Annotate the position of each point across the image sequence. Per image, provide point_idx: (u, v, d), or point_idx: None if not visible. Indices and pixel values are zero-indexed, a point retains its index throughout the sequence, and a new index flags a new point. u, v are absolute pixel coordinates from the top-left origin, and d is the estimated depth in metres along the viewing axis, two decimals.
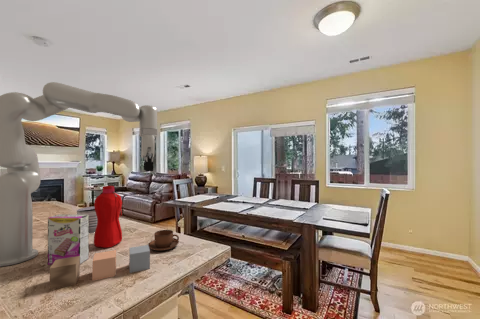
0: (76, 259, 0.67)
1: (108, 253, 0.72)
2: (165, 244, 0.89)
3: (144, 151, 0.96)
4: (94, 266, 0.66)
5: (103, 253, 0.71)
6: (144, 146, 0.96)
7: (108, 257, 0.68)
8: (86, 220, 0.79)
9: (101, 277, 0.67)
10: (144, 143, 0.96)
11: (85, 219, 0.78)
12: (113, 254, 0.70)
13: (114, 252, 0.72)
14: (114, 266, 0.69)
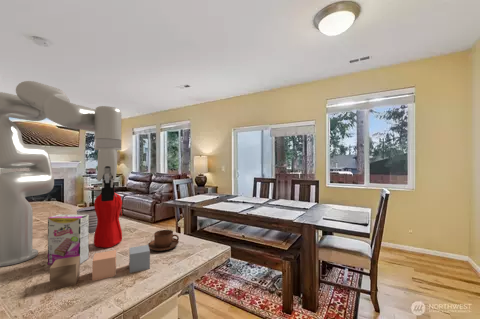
0: (76, 259, 0.67)
1: (108, 253, 0.71)
2: (165, 244, 0.88)
3: (99, 172, 0.66)
4: (94, 266, 0.66)
5: (103, 253, 0.71)
6: (99, 165, 0.66)
7: (108, 257, 0.68)
8: (86, 220, 0.79)
9: (101, 277, 0.67)
10: (99, 161, 0.66)
11: (85, 219, 0.78)
12: (113, 254, 0.70)
13: (114, 252, 0.72)
14: (114, 266, 0.69)
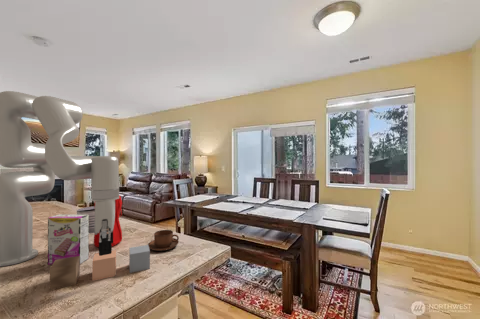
0: (76, 259, 0.67)
1: None
2: (165, 244, 0.88)
3: (96, 226, 0.65)
4: (94, 266, 0.66)
5: None
6: (96, 219, 0.65)
7: (108, 257, 0.68)
8: (86, 220, 0.79)
9: (101, 277, 0.67)
10: (96, 214, 0.65)
11: (85, 219, 0.78)
12: (113, 254, 0.70)
13: (114, 252, 0.72)
14: (114, 266, 0.69)
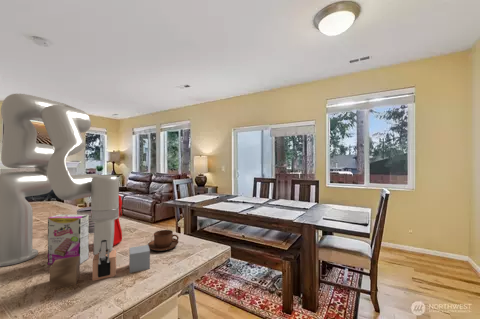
0: (76, 259, 0.67)
1: None
2: (165, 244, 0.88)
3: (95, 247, 0.65)
4: (94, 266, 0.66)
5: None
6: (95, 240, 0.65)
7: None
8: (86, 220, 0.79)
9: (101, 277, 0.67)
10: (96, 235, 0.65)
11: (85, 219, 0.78)
12: (113, 254, 0.70)
13: (114, 252, 0.72)
14: (114, 266, 0.69)
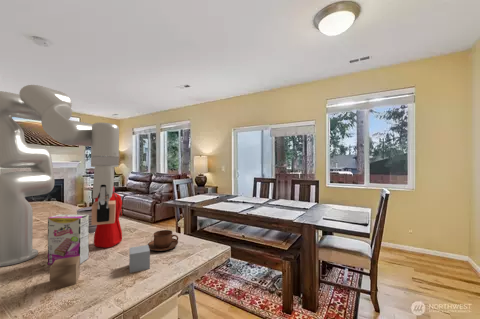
0: (76, 259, 0.67)
1: None
2: (164, 244, 0.88)
3: (95, 191, 0.65)
4: (93, 211, 0.66)
5: None
6: (95, 183, 0.65)
7: None
8: (86, 220, 0.79)
9: (100, 222, 0.67)
10: (95, 179, 0.65)
11: (85, 219, 0.78)
12: (113, 202, 0.70)
13: (113, 201, 0.72)
14: (113, 213, 0.69)
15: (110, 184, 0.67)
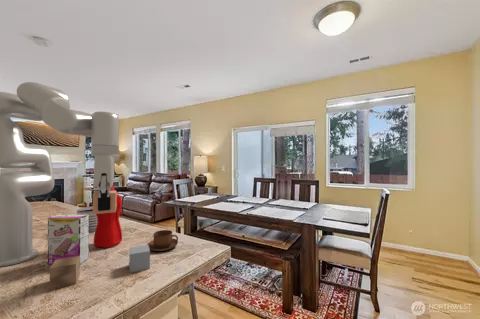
0: (76, 259, 0.67)
1: None
2: (164, 244, 0.88)
3: (96, 179, 0.65)
4: (94, 199, 0.66)
5: None
6: (96, 172, 0.65)
7: None
8: (86, 220, 0.79)
9: (101, 211, 0.67)
10: (96, 167, 0.65)
11: (85, 219, 0.78)
12: (114, 192, 0.70)
13: (114, 191, 0.72)
14: (114, 202, 0.69)
15: (111, 173, 0.67)
